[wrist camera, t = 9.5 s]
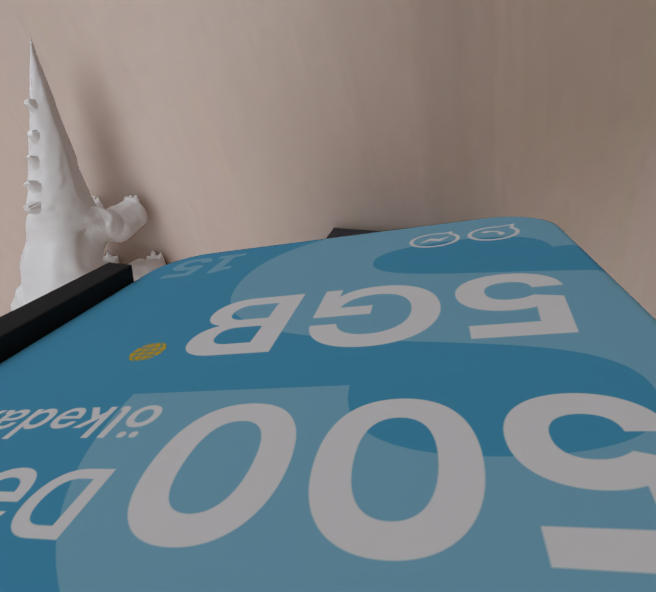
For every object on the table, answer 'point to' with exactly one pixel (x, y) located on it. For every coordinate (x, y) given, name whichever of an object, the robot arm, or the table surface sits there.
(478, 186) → the table surface
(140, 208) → the dinosaur statue
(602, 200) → the table surface
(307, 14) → the table surface
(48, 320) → the robot arm
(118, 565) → the data package
